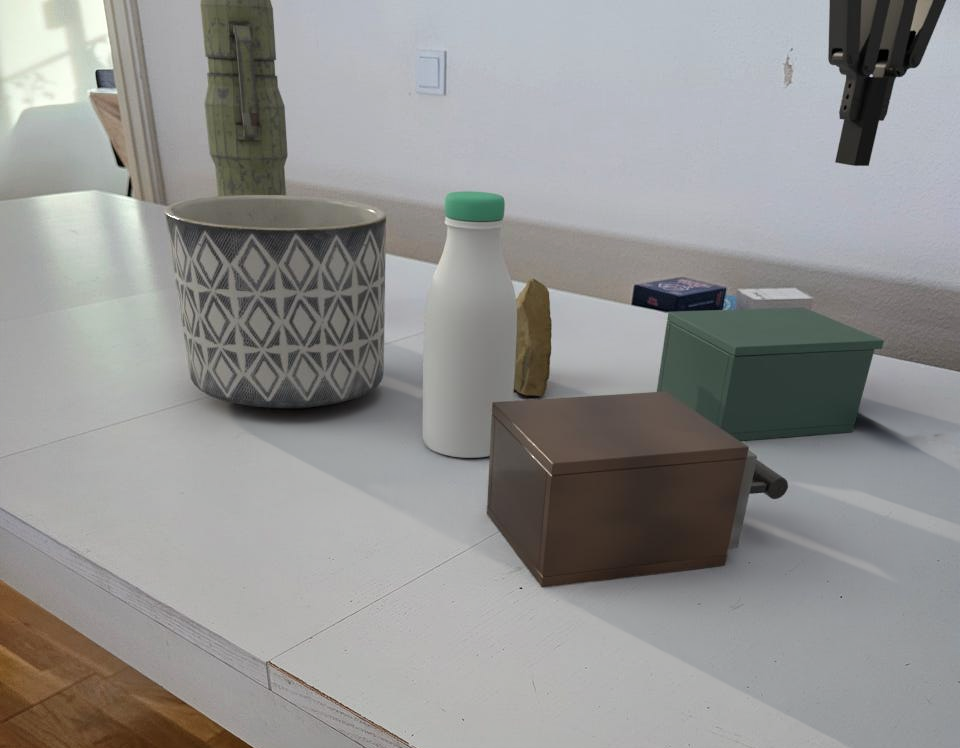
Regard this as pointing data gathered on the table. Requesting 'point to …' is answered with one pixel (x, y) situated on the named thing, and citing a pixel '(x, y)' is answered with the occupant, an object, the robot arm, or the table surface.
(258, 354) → the planter
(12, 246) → the table surface
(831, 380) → the chest
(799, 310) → the lid
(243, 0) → the thermos
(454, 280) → the milk bottle
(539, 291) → the rock
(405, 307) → the table surface
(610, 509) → the cabinet
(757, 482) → the drawer
